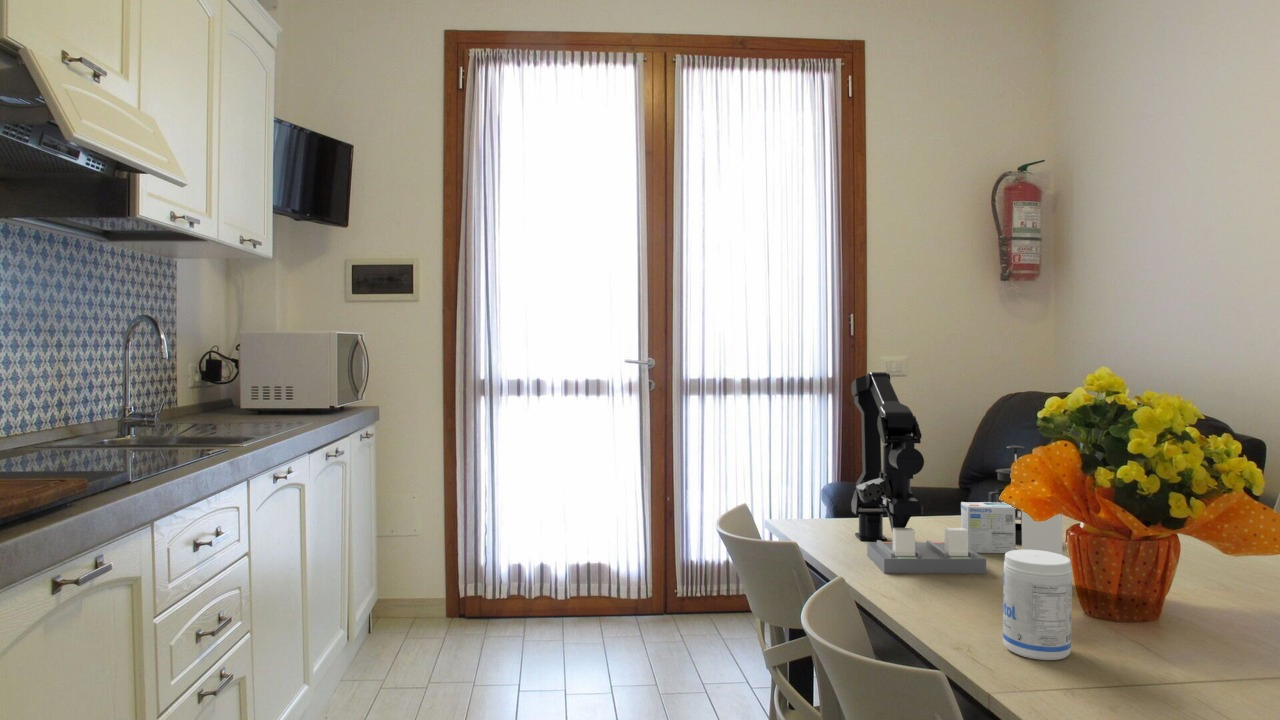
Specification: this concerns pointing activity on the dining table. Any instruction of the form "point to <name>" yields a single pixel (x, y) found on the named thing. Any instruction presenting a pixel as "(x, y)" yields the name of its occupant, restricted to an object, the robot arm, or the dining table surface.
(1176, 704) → the dining table surface
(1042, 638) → the supplement tub
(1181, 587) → the dining table surface
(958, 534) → the tall cream cuboid
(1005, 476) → the french press
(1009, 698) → the dining table surface
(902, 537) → the white block
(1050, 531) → the off-white cardboard box
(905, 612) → the dining table surface
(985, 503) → the light bulb box
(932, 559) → the breaker panel
